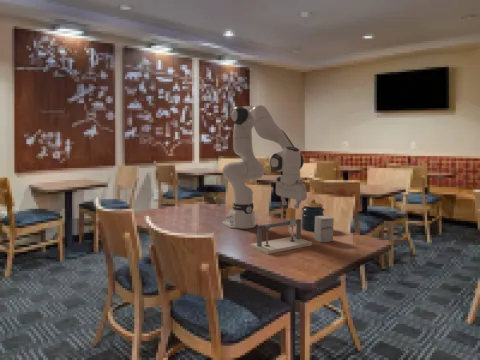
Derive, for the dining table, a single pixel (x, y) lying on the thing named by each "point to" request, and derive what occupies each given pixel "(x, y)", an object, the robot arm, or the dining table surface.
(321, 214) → the canister
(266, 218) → the dining table surface
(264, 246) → the hole plate
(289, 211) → the leg
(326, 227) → the supplement box
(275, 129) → the robot arm
